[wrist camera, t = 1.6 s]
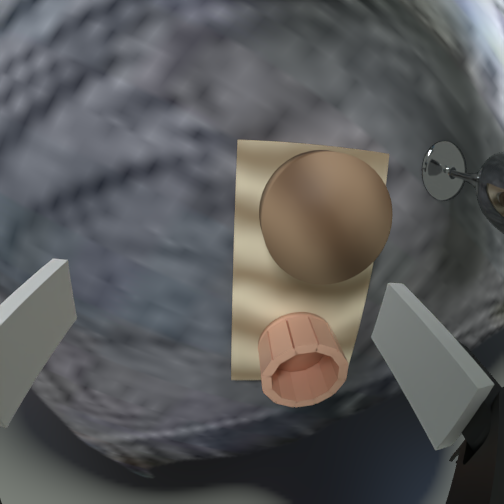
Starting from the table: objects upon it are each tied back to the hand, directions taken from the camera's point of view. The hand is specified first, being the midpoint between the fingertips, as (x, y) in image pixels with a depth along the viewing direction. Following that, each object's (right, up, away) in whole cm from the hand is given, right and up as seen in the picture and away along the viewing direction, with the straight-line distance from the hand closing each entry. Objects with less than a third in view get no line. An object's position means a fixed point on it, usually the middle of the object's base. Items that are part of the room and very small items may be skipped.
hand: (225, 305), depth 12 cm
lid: (+7, +5, +15) cm, 18 cm away
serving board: (+6, -1, +22) cm, 23 cm away
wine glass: (+23, +11, +19) cm, 32 cm away
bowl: (+6, -9, +24) cm, 26 cm away
